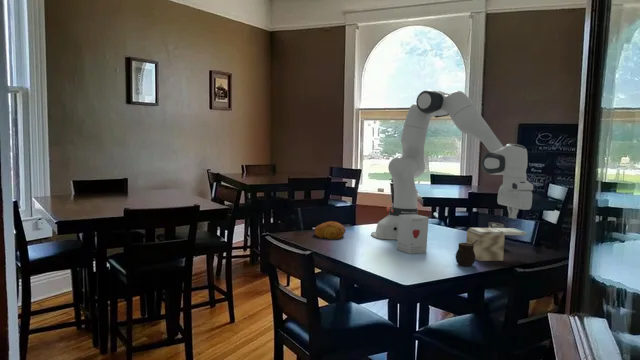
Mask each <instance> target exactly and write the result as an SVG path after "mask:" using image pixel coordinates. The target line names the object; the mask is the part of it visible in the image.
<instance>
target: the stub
mask: <svg viewBox="0 0 640 360" xmlns="http://www.w3.org/2000/svg"><path fill="white" fill-rule="evenodd" d="M494 229H496V230H499V231H502V232H503V235H504V236H527V232H526V231H523V230H520V229H518V228H514V227H508V228H507V227H504V228H494Z"/></svg>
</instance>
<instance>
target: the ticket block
mask: <svg viewBox="0 0 640 360" xmlns="http://www.w3.org/2000/svg"><path fill="white" fill-rule="evenodd" d="M505 236H506V235H503V232H502V231H499V230H496V229H494V228H489V227H468V229H466V242H465V243H470V244H473V243H474V242H475V241H476V240H478V241H477V242H476V243H474V244H473V245H474V249H473V250H474V253H475V256H476V257H475V260H478V261H481V262H484V261H485V262H486V261H488V262H489V261H491V262H493V261H494V262H495V261H496V262H498V261H501V262H503V261H504V255H505V254H504V252H505Z"/></svg>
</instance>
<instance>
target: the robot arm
mask: <svg viewBox="0 0 640 360" xmlns="http://www.w3.org/2000/svg"><path fill="white" fill-rule="evenodd" d="M416 97H417V98H416V102H415V103H412V104H411V105H410V106H409V108H408V112H407V114H406V117H405V121H404V125H403V129H402V134H401V138H400V143H401V145H402V154H401V155H398V156H395V157H394V158H392V159H391V160H390V161H389V163H388V169H387V170H388V173H389V174H390V175H391V179H392V184H393V185H392V186H393V206H392V207H389V206H387V207H386V211H387V212H388V213H389V214H388V215H387V216H385V217H384V218H383V219H380V220H379V221H378V222H377V225H376V229H375V231H372V232H371V237H374V238H375V239H380V240H395V241H396V240H397V239H398V224H399V215H407V214H417V215H419V214H418V213H419V211H418V210H419V209H418V196H419V195H418V190H417V188H416V183H415V179H416V178H418V177H420V176H421V175H423V173H424V172H425V171H426V164H425V159H424V158H425V144H426V138H427V133H428V129H429V125H430V124H429V123H430V122H431V121H430V120H431V119H432V118H436V119H437V118H441V117H447V116H449V117H450V118H451V121H452V122H453V123H454V125H455V126H456V128H457V129H458V130H459V131H460V132H462V133H464V134H465V135H467V136H471V137H473V138H475V139H477V140H479V141H480V142H481V143H482V144H483V145H484V146H485V148H486V149H487V151H488V152H487V153H485V154H484V155H483V156H481V159H480V160H481V161H480V166H481V169H482V171H483V172H484V173H486V174H488V175H491V176H493V175H495V176H497V175H498V176H499V175H501V176H503V177H502V183H501V185H500V186H499V189H498V191H497V192H498V193H497V199H496V200H497V204H498V205H500V206H506V207H507V212H508V218H510V219H514V220H516V219H517V216H518V214H519V211H520V210H526V211H527V210H528V211H529V210H531V208H532V205H533V191H534V185H533V184H532V183H530V181H528V180H527V179H528V178H527V168H528V150H527V148H526V147H525V146H524V145H521V144H517V143H507V144H506V145H504V143H503V142H502V141H501V140H500V138H499V137H498V136H497V134H496V133H495V132H494V131H493V129H492V128H491V127H490V126H489V125H488V123H487V121H486V120H485V119H484V118H483V116H482V114H481V113H480V111H479V110H478V108H477V107H476V105H475V104H474V102H473V101H472V100H471V99H470V98H469V97H468V95H467V94H465V93H464V92H463V91H462V90H455V91H452V92H451V93H446V92H444V91H441V90H433V89H426V90H423V91H421V92H420V93H419V94H418V95H417V96H416Z"/></svg>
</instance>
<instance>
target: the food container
mask: <svg viewBox="0 0 640 360" xmlns="http://www.w3.org/2000/svg"><path fill="white" fill-rule="evenodd" d="M488 228H505V226H504V224H502V223H499V222H491V221H489V222H488Z"/></svg>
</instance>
